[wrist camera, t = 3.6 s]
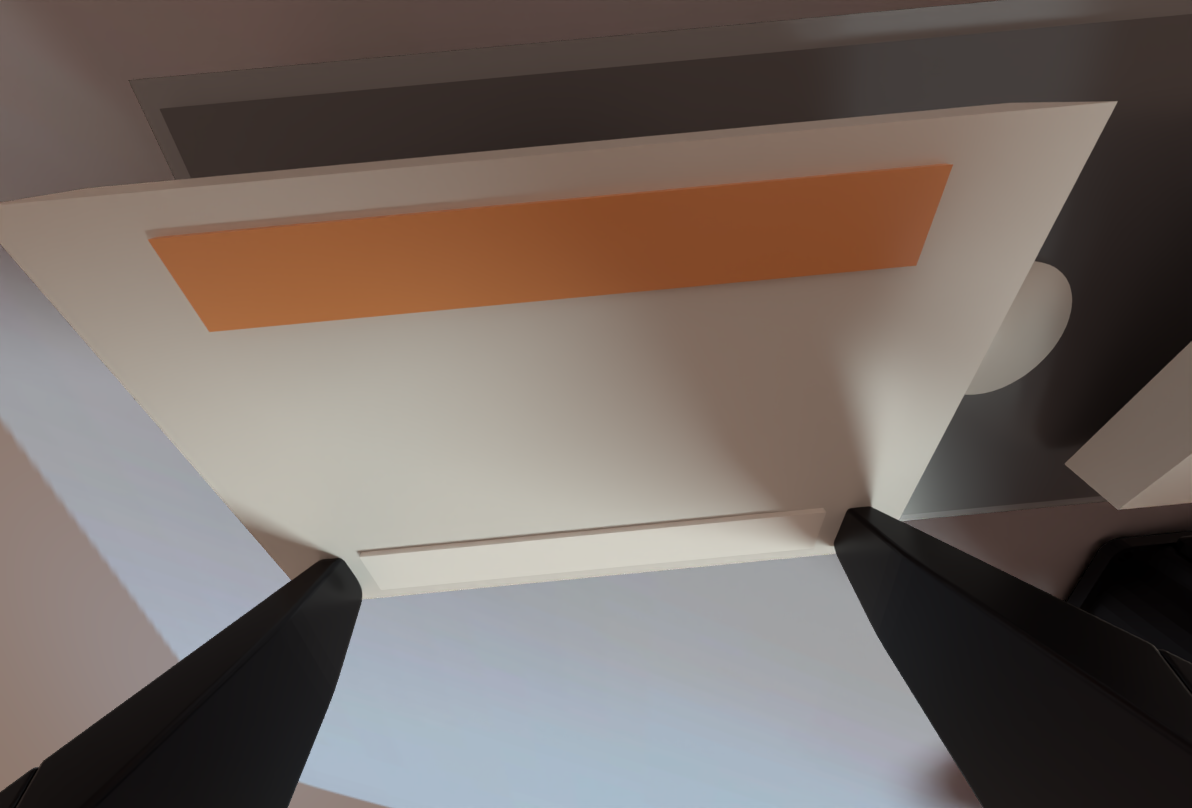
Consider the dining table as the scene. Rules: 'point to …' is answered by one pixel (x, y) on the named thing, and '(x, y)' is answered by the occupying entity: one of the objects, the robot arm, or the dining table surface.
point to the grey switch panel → (810, 93)
